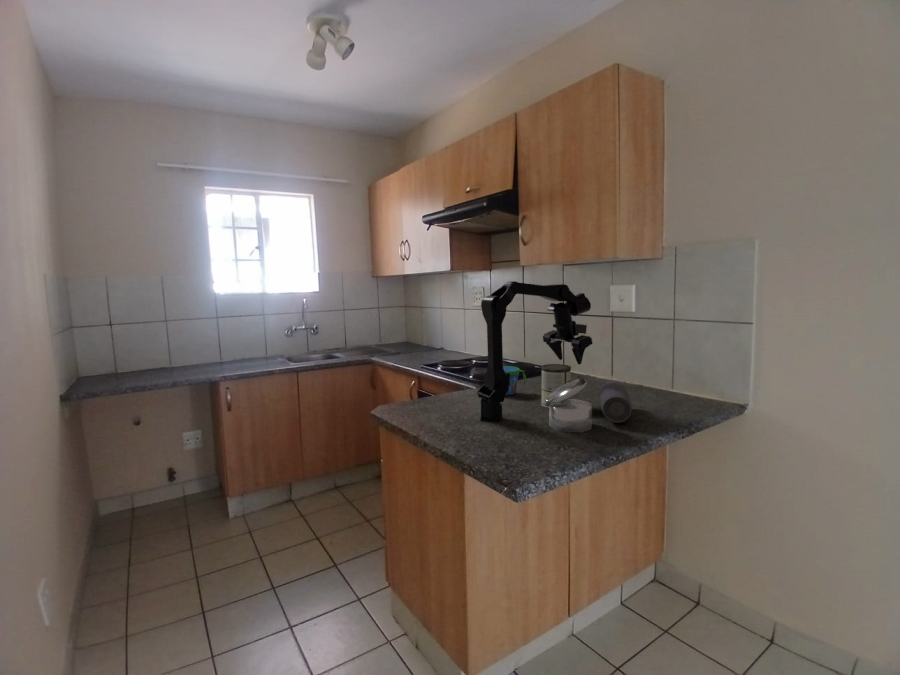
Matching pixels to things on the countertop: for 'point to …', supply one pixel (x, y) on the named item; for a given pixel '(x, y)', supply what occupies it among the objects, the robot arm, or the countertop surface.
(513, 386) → the snack cup
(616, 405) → the bluetooth speaker
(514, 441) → the countertop surface
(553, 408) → the grey round canister
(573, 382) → the cooker lid
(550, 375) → the coffee can
